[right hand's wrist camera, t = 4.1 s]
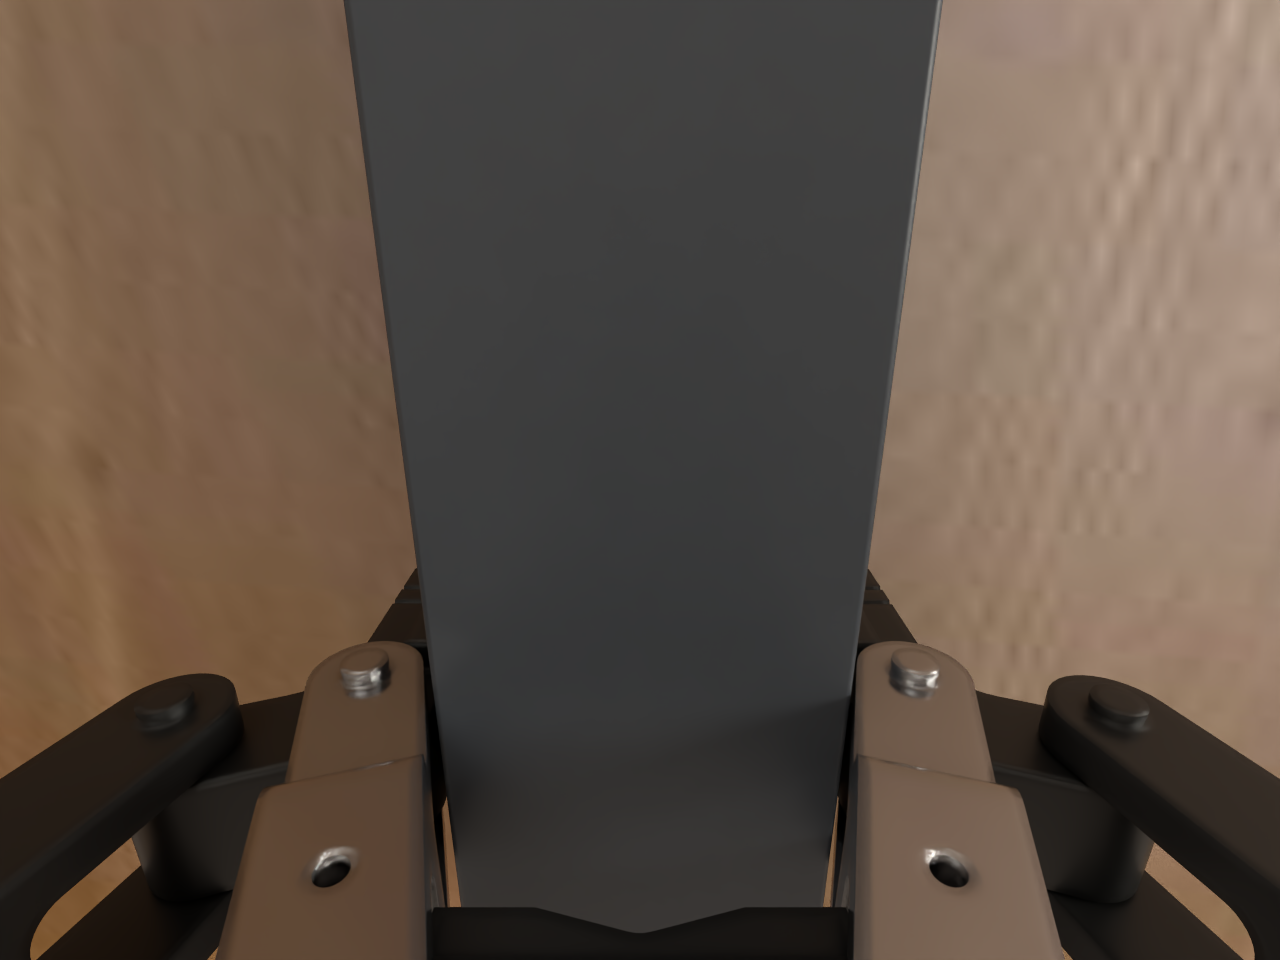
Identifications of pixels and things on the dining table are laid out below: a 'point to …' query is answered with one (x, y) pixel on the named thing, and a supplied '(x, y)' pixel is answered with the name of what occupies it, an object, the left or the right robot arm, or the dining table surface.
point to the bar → (642, 419)
